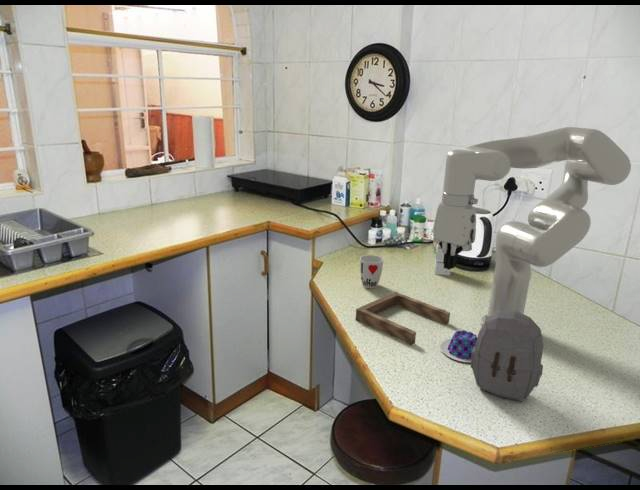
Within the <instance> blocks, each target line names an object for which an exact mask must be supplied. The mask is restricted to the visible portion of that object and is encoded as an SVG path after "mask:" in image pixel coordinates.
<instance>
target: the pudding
mask: <svg viewBox="0 0 640 490" xmlns="http://www.w3.org/2000/svg"><path fill="white" fill-rule="evenodd" d="M477 337H478V335H476V334H474V333H473V332H472V331H468V330H457V331H456V332H454V333H453V335H452V336H451V338H450V339H446V340H443V341H442V342H441V343H440V350H441V352H442V353H443V354H444V355H445V356H446V357H449V358H450V359H453V360H456V361H458V362H463V363H470V364H471V356H472V355H471V354H472V351H473V348H474V347H475V346H476V342H477Z"/></svg>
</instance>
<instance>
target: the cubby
mask: <svg viewBox="0 0 640 490" xmlns="http://www.w3.org/2000/svg"><path fill="white" fill-rule="evenodd" d="M396 306H398V307H401V308H404V309H405V310H408V311H411V312H413V313H415V314H417V315H420V316H423V317H425V318H427V319H430V320H433V321H434V322H438V323H441V324H443V325H449V324H450V318H451V312H450V311H447V310H444V309H442V308H440V307H436V306H434V305H431V304H429V303H426V302H423V301H421V300H418V299H415V298H413V297H410V296H407V295H406V294H402V293H400V292H396V291H394V292H392V293H390V294H387V295H384V296H383V297H381V298H378V299H376V300H374V301H372V302H369V303H367V304H364V305H361V306H360V307H358V308H356V310H355V311H356V312H355V321H358V322H360V323H362V324H364V325H367V326H368V327H371V328H373V329H376V330H377V331H379V332H382V333H384V334H386V335H389V336H390V337H393V338H395V339H397V340H399V341H401V342H403V343H406V344H408V345H410V346H413V345H415V344H416V336H417V332H416V331H415V330H412V329H410V328H408V327H406V326H403V325H401V324H399V323H397V322H394V321H392V320H389V319H387V318H385V317H383V316H381V315H378V314H381V313H383V312H385V311H387V310H390V309H391V308H393V307H396Z"/></svg>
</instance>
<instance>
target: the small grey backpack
mask: <svg viewBox="0 0 640 490" xmlns="http://www.w3.org/2000/svg"><path fill="white" fill-rule="evenodd" d="M526 315H527V314H525V313H524V314H521V313H519V312H517V311H500V312H498V313H496V314H494V315H491V316H489V317H487V318H486V319H485V322H484V324H483V325H481V327H480V329H479V331H478V334H477V342H476V346H475V347H474V348H473V351H472V354H471V355H472V356H471V363H470V368H471V369H472V373H473V376H474V379H475V384H476V385H477V386H478V387H479V388H481V389H482V390H483V391H486V392H489V393H491V394H493V395H496V396H498V397H502V398H507V399H510V400H516V401H517V400H518V401H524V400H527V398H528V397H529V396H530V395H531V393H532V391H533V390H534V389H535V388H536V387H538V386H539V382H540V380H541V377H542V376H543V372H544V371H543V370H544V365H543V364H542V359H543V352H544V351H543V350H544V346H545V345H544V341H543V337H542V329H541V327H540V326H539V325H538V324H537V323H536V322H535V321H534V320H533V319H532V318H531V316H528V315H527V316H526Z"/></svg>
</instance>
